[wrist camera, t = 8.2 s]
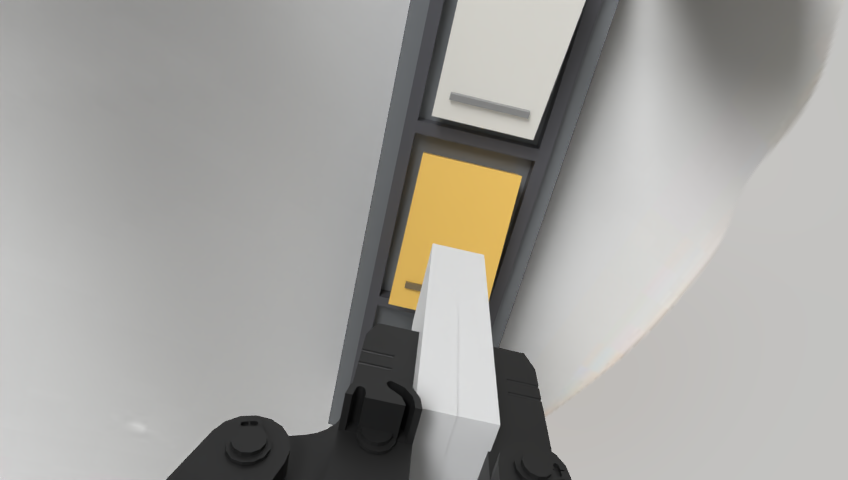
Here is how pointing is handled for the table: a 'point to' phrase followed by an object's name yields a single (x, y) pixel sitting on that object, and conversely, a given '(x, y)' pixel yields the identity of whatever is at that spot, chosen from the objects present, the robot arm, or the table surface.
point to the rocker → (504, 62)
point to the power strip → (426, 133)
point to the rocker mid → (453, 219)
